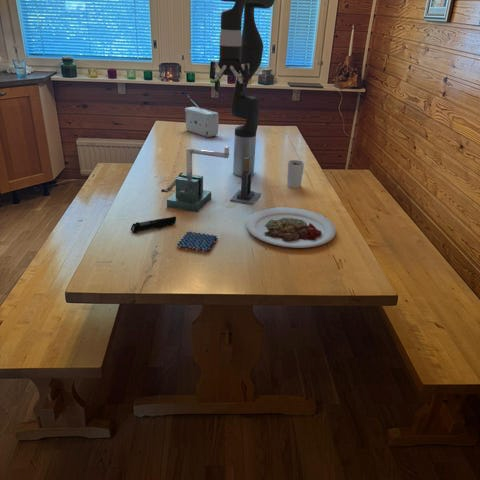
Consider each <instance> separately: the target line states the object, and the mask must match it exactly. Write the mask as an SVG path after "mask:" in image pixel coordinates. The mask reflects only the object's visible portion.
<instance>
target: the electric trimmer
mask: <svg viewBox="0 0 480 480" xmlns="http://www.w3.org/2000/svg"><path fill="white" fill-rule="evenodd" d="M176 221H177V216H170V217H164V218H159V219H157V218H156V219H153V220H147V221H142V222H141V221H140V222H138V221H137V222H135V223H133V224H132V225H131V227H130V231H131V232H132V233H133V234H137V233H139V232H141V231H142V232H143V231H146V230H151V229H160V228H161V229H162V228H166V227H168V226H171V225H174V224H176Z"/></svg>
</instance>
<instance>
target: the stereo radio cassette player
mask: <svg viewBox="0 0 480 480" xmlns="http://www.w3.org/2000/svg"><path fill="white" fill-rule="evenodd" d="M187 97H189V95H188V94H187ZM191 102H192V103H193V104H194V105H195V106H190V107H185V108H184V112H185V129H186V131H187V132H191V133H194V134H197V135H200V136H203V137H206V138H211V137H216V136H217V135H218V134H219V113H218V112H217V111H212V110H209V109H205V108H201V107H199V106H198V104H196V103H195V102H194V101H193V100H191Z"/></svg>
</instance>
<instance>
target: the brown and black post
mask: <svg viewBox="0 0 480 480" xmlns="http://www.w3.org/2000/svg"><path fill="white" fill-rule="evenodd" d="M251 163H252V157H245V158H244V159H243V173H242V176H241V182H240V183H241V184H240V186H241V187H240V188H241V189H240V190H241V192H240V193H239V194H238V195H237V199H242V200H249V201H250V199H251V198H252V197H253V195H254V192H255V190H252V176H253V175H252V168H251Z"/></svg>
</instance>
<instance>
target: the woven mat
mask: <svg viewBox="0 0 480 480" xmlns="http://www.w3.org/2000/svg"><path fill="white" fill-rule="evenodd" d="M218 239H219V237H218V236H217V235H216V234H215V235H214V234H209V233H200V232H195V231H194V232H193V231H187V232H185V234H184V235H183V236H182V238H180V240H179V241H178V243H176V245H177V246H176V248H177V249H179V250H181V249H182V250H185V251H189V250H191V252H192V251H193V253H194V252H195V253H197V252H198V251H199V253H203V254H207V253H208V254H209V253H210V252H211V251H212V250H213V248H214V246H215V244H216V243H217V241H218ZM201 251H202V252H201Z"/></svg>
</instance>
